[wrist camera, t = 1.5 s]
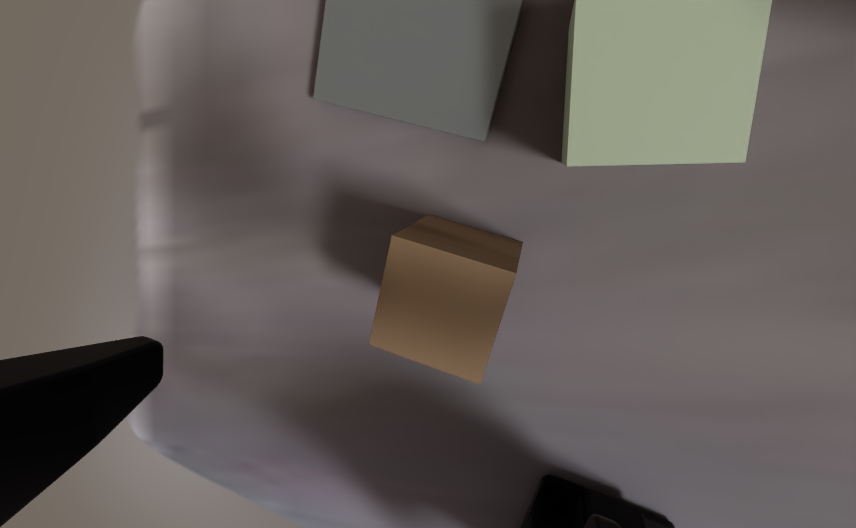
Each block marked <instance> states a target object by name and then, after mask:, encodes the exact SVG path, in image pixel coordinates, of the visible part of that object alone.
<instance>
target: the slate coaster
mask: <svg viewBox="0 0 856 528" xmlns="http://www.w3.org/2000/svg"><path fill="white" fill-rule="evenodd" d="M523 3H524V0H326V3H325V10H324V18H323V26H322V33H321V41H320V49H319V56H318V64H317V72H316V79H315V87H314V95H313V99H315V100H319V101H323V102H327V103H331V104H335V105H339V106H343V107H347V108H351V109H355V110H359V111H363V112H367V113H371V114H375V115H379V116H383V117H387V118H391V119H395V120H399V121H403V122H407V123H411V124H415V125H419V126H423V127H427V128H431V129H435V130H439V131H443V132H447V133H451V134H455V135H459V136H463V137H467V138H471V139H475V140H479V141H483V142H486V141H487V137H488V133H489V130H490V126H491V122H492V119H493V115H494V111H495V107H496V104H497V100H498V96H499V93H500V89H501V85H502V81H503V78H504V74H505V70H506V66H507V63H508V59H509V55H510V52H511V48H512V44H513V40H514V37H515V33H516V29H517V26H518V22H519V18H520V14H521V11H522V7H523Z"/></svg>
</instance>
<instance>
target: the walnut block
mask: <svg viewBox="0 0 856 528" xmlns="http://www.w3.org/2000/svg"><path fill="white" fill-rule="evenodd" d="M522 244H523V242H520V241H517V240H513V239H510V238H507V237H503V236H500V235H496V234H493V233H489V232H486V231H482V230H479V229H476V228H472V227H469V226H465V225H462V224H458V223H455V222H452V221H448V220H445V219H441V218H438V217H434V216H431V215H427V216H425V217H423V218H421V219H420V220H418V221H416V222H414V223H413V224H411V225H409V226H407V227H405V228H404V229H402V230H400V231H398V232H397V233H395V234H393V235H392V236H391V241H390V246H389V251H388V255H387V260H386V265H385V270H384V274H383V279H382V284H381V289H380V293H379V298H378V303H377V308H376V312H375V317H374V322H373V326H372V331H371V336H370V341H369V345H372V346H375V347H378V348H380V349H383V350H386V351H389V352H391V353H394V354H397V355H400V356H402V357H405V358H408V359H411V360H414V361H416V362H419V363H422V364H425V365H427V366H430V367H433V368H436V369H438V370H441V371H444V372H447V373H449V374H452V375H455V376H458V377H460V378H463V379H466V380H469V381H471V382H474V383H477V384H480V383H481V380H482V377H483V374H484V371H485V368H486V365H487V362H488V359H489V355H490V352H491V349H492V346H493V343H494V340H495V337H496V334H497V331H498V328H499V325H500V322H501V319H502V315H503V312H504V309H505V306H506V303H507V300H508V297H509V294H510V291H511V288H512V285H513V282H514V279H515V275H516V272H517V267H518V263H519V258H520V253H521V248H522Z"/></svg>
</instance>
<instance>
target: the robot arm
mask: <svg viewBox="0 0 856 528" xmlns="http://www.w3.org/2000/svg"><path fill="white" fill-rule="evenodd" d="M162 376H163V346H162V344H161V343H160V342H158V341H156V340H153V339H151V338H148V337H144V336H139V337H133V338H127V339H122V340H116V341H110V342H104V343H98V344H93V345H86V346H80V347H75V348H69V349H63V350H57V351H51V352H45V353H40V354H33V355H28V356H22V357H16V358H10V359H4V360H0V527H1V526H2V525H3V524H5V523H6V522H7V521H8V520H9V519H11V518H12V517H13V516H14V515H15V514H16V513H18V512H19V511H20V510H21V509H22V508H24V507H25V506H26V505H27V504H28V503H29V502H30V501H32V500H33V499H34V498H35V497H37V496H38V495H39V494H40V493H41V492H43V491H44V490H45V489H46V488H47V487H48V486H50V485H51V484H52V483H53V482H54V481H56V480H57V479H58V478H59V477H60V476H61V475H63V474H64V473H65V472H66V471H67V470H69V469H70V468H71V467H72V466H73V465H75V464H76V463H77V462H78V461H79V460H80V459H82V457H84V456H85V455H86V454H87V453H89V452H90V451H91V450H92V449H93V448H94V447H95V446H97V445H98V444H99V443H100V442H101V441H102V440H103V439H104V438H105V437H106V436H107V435H108V434H109V433H110V432H111V431H112V430H113V429H114V428H115V427H116V426H117V425H118V424H119V423H120V422H121V421H122V420H123V419H124V418H125V417H126V416H127V415H128V414H129V413H130V412H131V411H132V410H133V409H134V408H135V407H136V406H137V405H138V404H139V403H140V402H141V401H142V400H143V399H144V398H146V397H147V396H148V395H149V394H150V393H151V392H152V391H153V390H154V389H155V388H156V387H157V385H158V384H159V383H160V381H161V379H162ZM548 485H553V486H554V487H552V488H551V487H548ZM521 528H675V526H674V525H673V524H672V523H671V522H670V521H668V520H665V519H663V518H660V517H658V516H655V515H653V514H650V513H647V512H645V511H642V510H640V509H637V508H635V507H632V506H630V505H627V504H624V503H622V502H619V501H617V500H614V499H612V498H609V497H607V496H604V495H602V494H599V493H596V492H594V491H591V490H589V489H586V488H584V487H581V486H579V485H576V484H573V483H571V482H568V481H566V480H563V479H561V478H558V477H556V476H552V475H546V476H544V477H543V478H542V479H541V481H540V483H539V485H538V488H537V490H536V493H535V495H534V497H533V500H532V502H531V504H530V507H529V509H528V512H527V514H526V516H525V519H524V521H523V523H522V526H521Z"/></svg>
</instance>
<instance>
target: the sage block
mask: <svg viewBox="0 0 856 528" xmlns="http://www.w3.org/2000/svg"><path fill="white" fill-rule="evenodd" d="M771 4H772V0H575V1H574V6H573V10H572V15H571V19H570V24H569V29H568V48H567V67H566V87H565V106H564V125H563V144H562V164H564V165H565V166H604V165H649V164H693V163H737V162H745V161H746V155H747V149H748V143H749V137H750V131H751V125H752V119H753V113H754V107H755V101H756V95H757V89H758V83H759V77H760V71H761V65H762V59H763V53H764V47H765V41H766V35H767V29H768V23H769V16H770V10H771Z"/></svg>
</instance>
